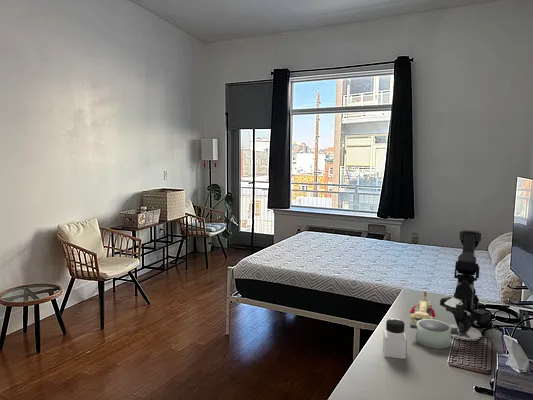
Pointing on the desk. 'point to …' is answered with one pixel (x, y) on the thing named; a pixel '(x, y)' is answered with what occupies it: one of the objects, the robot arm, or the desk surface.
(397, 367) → the desk surface
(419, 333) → the pot
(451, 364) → the desk surface
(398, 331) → the medicine bottle
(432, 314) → the cat figure
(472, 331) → the lid
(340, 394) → the desk surface
